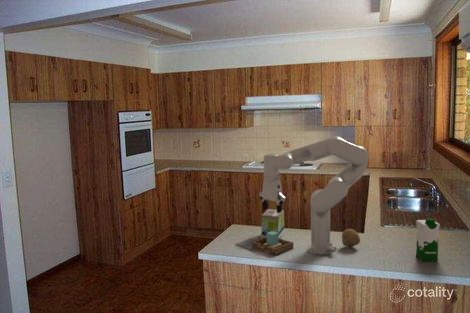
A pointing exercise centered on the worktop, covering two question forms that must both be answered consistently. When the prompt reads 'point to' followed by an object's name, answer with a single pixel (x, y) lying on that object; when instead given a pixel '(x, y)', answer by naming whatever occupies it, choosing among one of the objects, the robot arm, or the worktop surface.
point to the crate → (273, 250)
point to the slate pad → (246, 244)
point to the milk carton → (427, 239)
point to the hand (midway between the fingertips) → (272, 210)
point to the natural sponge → (350, 238)
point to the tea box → (272, 222)
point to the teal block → (272, 238)
